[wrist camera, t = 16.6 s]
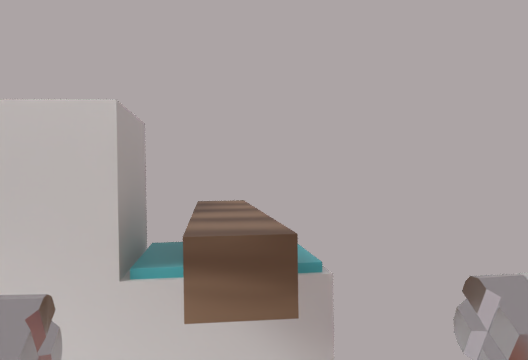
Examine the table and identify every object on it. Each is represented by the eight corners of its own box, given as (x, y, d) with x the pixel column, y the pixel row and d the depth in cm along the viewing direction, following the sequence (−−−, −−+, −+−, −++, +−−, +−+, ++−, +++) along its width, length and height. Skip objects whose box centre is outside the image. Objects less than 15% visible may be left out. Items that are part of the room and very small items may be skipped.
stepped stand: (336, 549, 28) (330, 100, 28) (-71, 591, 26) (-80, 98, 26) (298, 439, 40) (294, 123, 40) (18, 460, 38) (12, 124, 38)
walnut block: (298, 318, 17) (297, 234, 17) (184, 324, 17) (182, 237, 17) (244, 234, 43) (243, 200, 43) (198, 235, 43) (197, 201, 43)
